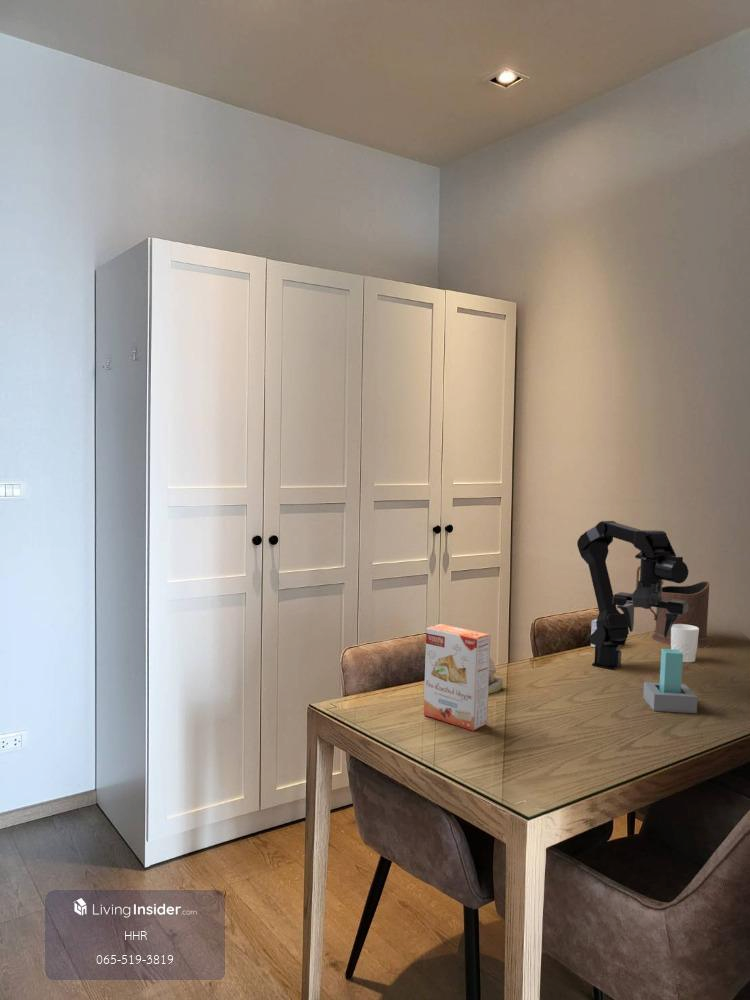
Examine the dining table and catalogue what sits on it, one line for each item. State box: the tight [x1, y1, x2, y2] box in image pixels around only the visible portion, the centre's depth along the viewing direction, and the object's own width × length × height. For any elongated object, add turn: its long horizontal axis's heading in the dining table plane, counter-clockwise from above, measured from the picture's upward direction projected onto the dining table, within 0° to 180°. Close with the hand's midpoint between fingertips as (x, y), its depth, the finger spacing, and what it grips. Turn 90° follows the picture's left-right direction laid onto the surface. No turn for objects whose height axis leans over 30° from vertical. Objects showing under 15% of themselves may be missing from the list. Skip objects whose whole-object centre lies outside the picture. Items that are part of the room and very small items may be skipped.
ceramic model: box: [488, 657, 504, 695], centre depth 198 cm, size 14×11×10 cm
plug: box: [659, 648, 684, 693], centre depth 189 cm, size 4×4×13 cm
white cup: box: [670, 624, 699, 663], centre depth 232 cm, size 8×8×10 cm
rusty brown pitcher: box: [635, 565, 711, 649], centre depth 255 cm, size 18×24×25 cm
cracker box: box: [423, 623, 491, 732], centre depth 174 cm, size 14×6×21 cm, turn 49°
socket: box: [642, 681, 698, 714], centre depth 189 cm, size 10×10×4 cm
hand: (648, 634), depth 208 cm, fingers open, 9 cm apart
